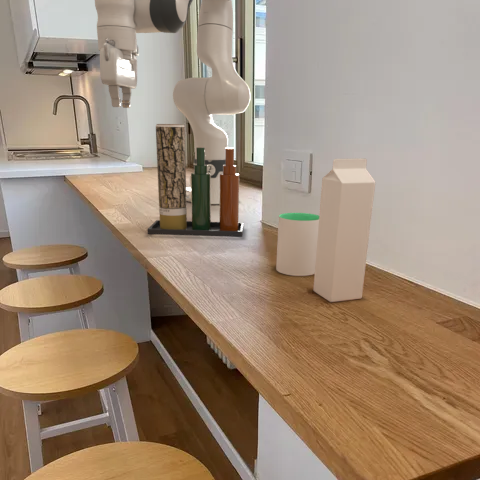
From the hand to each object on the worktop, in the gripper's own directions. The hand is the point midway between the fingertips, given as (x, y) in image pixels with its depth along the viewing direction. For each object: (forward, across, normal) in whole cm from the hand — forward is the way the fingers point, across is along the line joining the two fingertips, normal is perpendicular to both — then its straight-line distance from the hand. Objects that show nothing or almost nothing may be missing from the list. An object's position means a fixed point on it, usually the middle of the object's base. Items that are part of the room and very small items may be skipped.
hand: (121, 107), depth 121 cm
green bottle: (+28, -6, -20) cm, 35 cm away
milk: (+29, -51, -48) cm, 76 cm away
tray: (+29, -6, -19) cm, 35 cm away
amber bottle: (+28, -6, -27) cm, 40 cm away
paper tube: (+29, -6, -13) cm, 32 cm away
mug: (+29, -36, -44) cm, 64 cm away
